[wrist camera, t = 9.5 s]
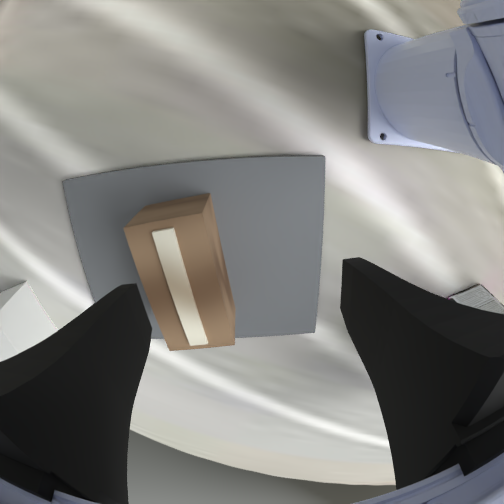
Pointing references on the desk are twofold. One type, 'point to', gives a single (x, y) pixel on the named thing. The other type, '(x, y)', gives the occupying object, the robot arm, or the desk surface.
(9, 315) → the white cube
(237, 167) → the rubber mat
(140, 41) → the desk surface
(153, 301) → the brown box with strip
